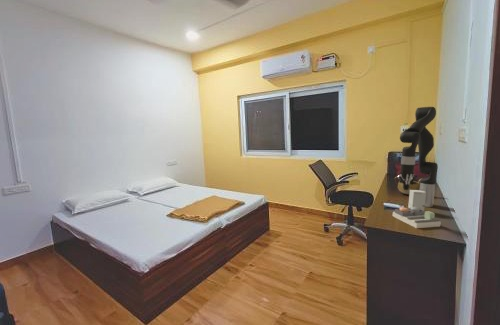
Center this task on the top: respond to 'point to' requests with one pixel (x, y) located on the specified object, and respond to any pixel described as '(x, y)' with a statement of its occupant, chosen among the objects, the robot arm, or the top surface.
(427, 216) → the sage slider
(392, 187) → the top surface
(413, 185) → the tan woven basket
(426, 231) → the top surface
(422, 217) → the panel
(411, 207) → the grey button
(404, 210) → the terracotta button
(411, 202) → the skincare box
